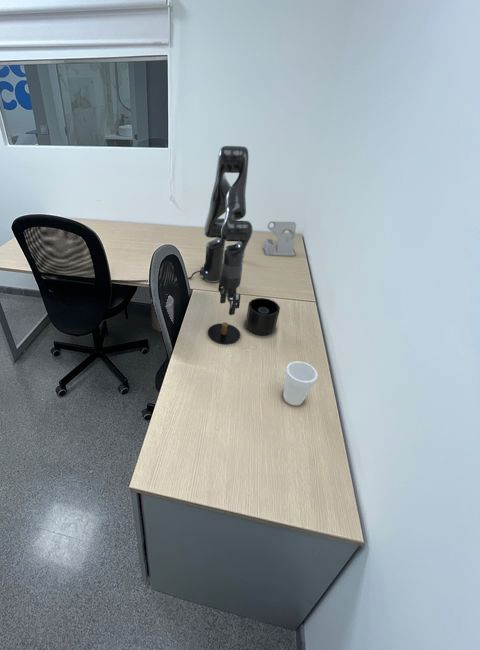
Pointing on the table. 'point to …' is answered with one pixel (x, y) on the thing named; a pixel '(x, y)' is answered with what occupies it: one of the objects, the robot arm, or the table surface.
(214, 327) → the lid
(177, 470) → the table surface
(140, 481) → the table surface
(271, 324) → the pot
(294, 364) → the foam cup
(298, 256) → the table surface
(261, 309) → the socket
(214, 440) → the table surface
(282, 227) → the phone holder
